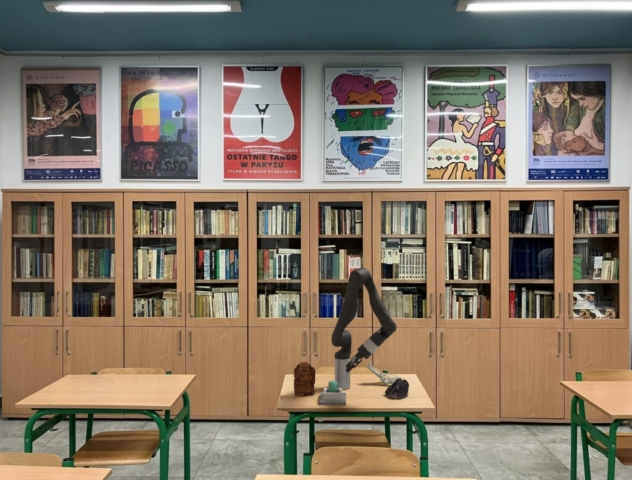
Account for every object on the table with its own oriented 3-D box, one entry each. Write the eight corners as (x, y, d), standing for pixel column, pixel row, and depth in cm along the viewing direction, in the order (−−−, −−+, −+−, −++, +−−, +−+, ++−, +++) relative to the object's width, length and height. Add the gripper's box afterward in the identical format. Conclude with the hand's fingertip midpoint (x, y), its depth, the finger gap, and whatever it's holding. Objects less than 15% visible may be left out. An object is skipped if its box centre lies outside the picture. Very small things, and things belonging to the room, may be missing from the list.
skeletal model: (408, 387, 289) (376, 358, 290) (397, 399, 289) (366, 370, 290) (405, 380, 305) (375, 352, 306) (395, 390, 305) (365, 363, 306)
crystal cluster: (384, 400, 268) (385, 382, 267) (384, 390, 281) (385, 373, 281) (409, 403, 266) (410, 385, 266) (408, 393, 280) (409, 376, 279)
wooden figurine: (295, 396, 272) (294, 364, 272) (293, 393, 278) (293, 361, 278) (316, 395, 274) (316, 363, 274) (314, 392, 280) (314, 360, 280)
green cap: (328, 395, 269) (328, 380, 269) (337, 395, 268) (337, 381, 269) (328, 398, 264) (328, 383, 264) (337, 398, 263) (337, 383, 264)
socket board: (320, 395, 275) (320, 386, 275) (345, 395, 274) (345, 386, 274) (319, 404, 258) (319, 395, 258) (346, 405, 257) (345, 395, 257)
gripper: (362, 340, 273) (341, 361, 273) (363, 346, 258) (341, 367, 259) (372, 350, 272) (351, 371, 273) (373, 356, 258) (351, 377, 258)
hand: (346, 369), depth 266 cm, fingers open, 8 cm apart
